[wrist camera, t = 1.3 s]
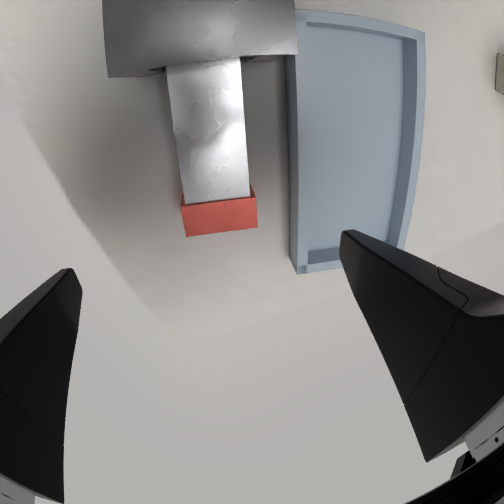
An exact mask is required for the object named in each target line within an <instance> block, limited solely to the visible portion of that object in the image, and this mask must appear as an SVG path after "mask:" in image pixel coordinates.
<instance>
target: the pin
mask: <svg viewBox="0 0 504 504" xmlns="http://www.w3.org/2000/svg"><path fill="white" fill-rule="evenodd" d="M166 72H167V81H168V90H169V98H170V106H171V114H172V121H173V129H174V136H175V143H176V149H177V156H178V163H179V169H180V175H181V181H182V187H183V194H182V200H181V207H180V208H181V213H182V218H183V223H184V228H185V233H186V237H189V236H196V235H203V234H210V233H218V232H225V231H233V230H240V229H248V228H256V227H258V226H257V210H256V197H255V194H254V192H253V190H252V187H251V185H250V182H249V175H248V161H247V148H246V134H245V121H244V108H243V94H242V81H241V68H240V57H236V58H224V59H214V60H205V61H197V62H190V63H183V64H176V65H170V66H166Z"/></svg>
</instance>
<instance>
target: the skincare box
mask: <svg viewBox="0 0 504 504" xmlns="http://www.w3.org/2000/svg"><path fill="white" fill-rule="evenodd" d="M495 89H496V91H498V92H500V93H501V94H503V95H504V54H497V72H496V85H495Z"/></svg>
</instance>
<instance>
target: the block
mask: <svg viewBox="0 0 504 504" xmlns="http://www.w3.org/2000/svg"><path fill="white" fill-rule="evenodd" d="M102 6H103V26H104V41H105V52H106V62H107V71H108V78H121V77H142V76H147V75H152V74H157V73H162V72H163V69H162V67H165V66H170V65H176V64H183V63H190V62H197V61H205V60H214V59H224V58H236V57H244V60H245V62H262V61H273V60H277V59H281V58H285V57H289V56H294V55H298V45H297V29H296V15H295V3H294V0H102Z"/></svg>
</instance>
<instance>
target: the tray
mask: <svg viewBox="0 0 504 504" xmlns="http://www.w3.org/2000/svg"><path fill="white" fill-rule="evenodd" d="M295 15H296V29H297V45H298V55H294V56H289V57H285V58H284V59H285V77H286V99H287V125H288V162H289V257H290V260H291V262H292V264H293V267H294V269H295V271H296V274H297V275H298V274H305V273H311V272H318V271H324V270H330V269H336V268H343V266H342V263H341V260H340V257H339V248H340V238H341V233H342V231H344V230H350V229H355V230H357V231H359V232H362V233H364V234H367V235H369V236H371V237H374V238H376V239H378V240H381V241H383V242H385V243H387V244H390V245H392V246H394V247H397V248H399V249H401V250H404V245H405V241H406V237H407V232H408V228H409V223H410V218H411V213H412V207H413V202H414V196H415V190H416V184H417V177H418V170H419V163H420V155H421V146H422V136H423V125H424V110H425V85H426V55H425V32H422V31H419V30H416V29H412V28H409V27H405V26H401V25H397V24H393V23H389V22H385V21H380V20H375V19H370V18H365V17H360V16H354V15H347V14H341V13H333V12H324V11H314V10H302V9H295Z"/></svg>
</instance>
